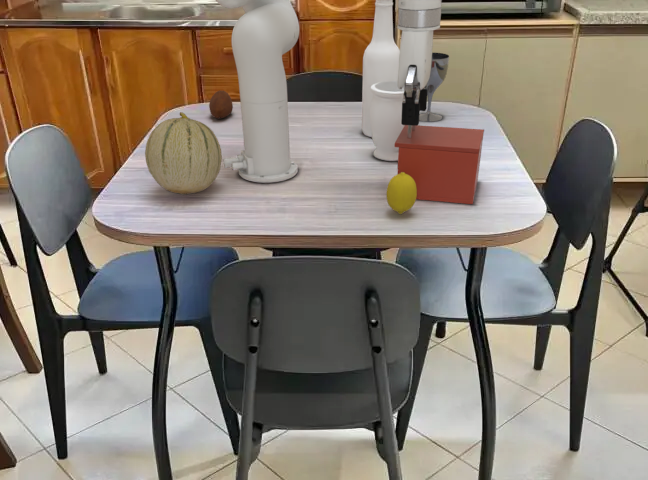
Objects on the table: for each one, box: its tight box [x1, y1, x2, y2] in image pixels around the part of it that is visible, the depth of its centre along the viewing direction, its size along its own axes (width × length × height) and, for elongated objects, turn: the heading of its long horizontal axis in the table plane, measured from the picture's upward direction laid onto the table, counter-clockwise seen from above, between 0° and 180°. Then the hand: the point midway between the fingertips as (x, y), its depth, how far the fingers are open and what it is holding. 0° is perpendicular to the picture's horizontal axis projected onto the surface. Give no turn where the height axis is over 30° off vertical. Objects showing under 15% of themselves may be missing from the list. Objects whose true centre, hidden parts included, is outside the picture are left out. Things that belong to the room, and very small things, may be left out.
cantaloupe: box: [144, 111, 223, 195], centre depth 133 cm, size 15×15×15 cm
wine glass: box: [419, 52, 450, 122], centre depth 172 cm, size 8×8×15 cm
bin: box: [396, 137, 484, 205], centre depth 133 cm, size 15×12×10 cm
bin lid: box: [395, 124, 485, 153], centre depth 128 cm, size 16×12×6 cm
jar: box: [370, 81, 405, 162], centre depth 148 cm, size 11×10×15 cm
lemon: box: [385, 172, 417, 215], centre depth 124 cm, size 6×6×8 cm
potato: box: [208, 90, 234, 119], centre depth 178 cm, size 6×12×6 cm, turn 179°
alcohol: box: [361, 0, 400, 138], centre depth 158 cm, size 9×9×30 cm
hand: (414, 117), depth 129 cm, fingers open, 9 cm apart
